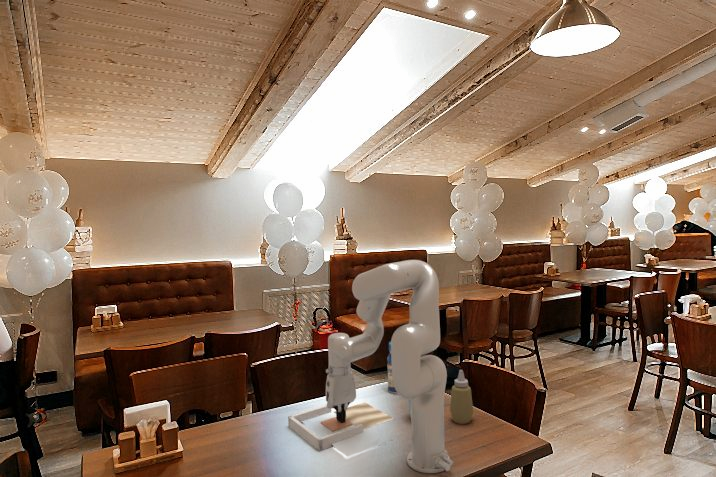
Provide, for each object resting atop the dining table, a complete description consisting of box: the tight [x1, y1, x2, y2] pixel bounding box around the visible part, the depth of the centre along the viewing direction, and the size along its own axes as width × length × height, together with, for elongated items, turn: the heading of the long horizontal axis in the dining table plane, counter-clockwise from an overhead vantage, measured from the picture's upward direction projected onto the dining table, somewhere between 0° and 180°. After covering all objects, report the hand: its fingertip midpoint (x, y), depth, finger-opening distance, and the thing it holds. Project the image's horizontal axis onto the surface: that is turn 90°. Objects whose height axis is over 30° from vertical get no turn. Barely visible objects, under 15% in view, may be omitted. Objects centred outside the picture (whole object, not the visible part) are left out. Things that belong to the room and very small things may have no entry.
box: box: [287, 404, 364, 452], centre depth 162 cm, size 21×17×4 cm
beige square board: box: [333, 401, 395, 431], centre depth 171 cm, size 18×14×1 cm
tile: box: [320, 416, 354, 432], centre depth 165 cm, size 8×8×2 cm
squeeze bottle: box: [449, 369, 474, 425], centre depth 166 cm, size 8×8×18 cm
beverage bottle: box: [386, 341, 399, 395], centre depth 195 cm, size 8×8×20 cm
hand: (341, 421), depth 166 cm, fingers closed
